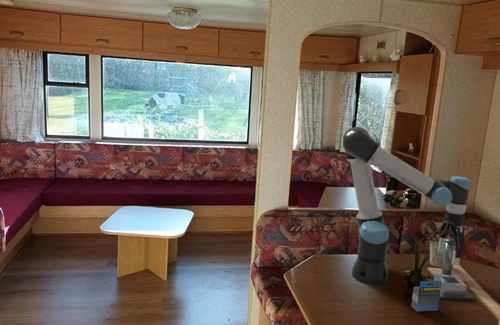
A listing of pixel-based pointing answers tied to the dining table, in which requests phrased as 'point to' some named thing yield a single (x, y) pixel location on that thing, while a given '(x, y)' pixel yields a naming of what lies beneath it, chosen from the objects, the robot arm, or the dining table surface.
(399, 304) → the dining table surface
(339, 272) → the dining table surface
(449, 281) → the chuck block
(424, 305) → the label tape cartridge
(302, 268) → the dining table surface
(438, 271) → the rubber mat
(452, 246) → the key peg
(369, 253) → the robot arm
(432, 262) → the mug
